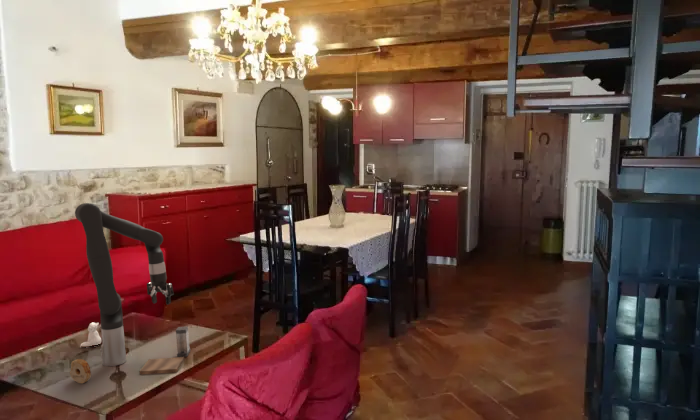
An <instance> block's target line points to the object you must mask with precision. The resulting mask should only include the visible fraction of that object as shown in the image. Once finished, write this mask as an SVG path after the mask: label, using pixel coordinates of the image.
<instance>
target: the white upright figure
mask: <svg viewBox="0 0 700 420" xmlns="http://www.w3.org/2000/svg"><path fill="white" fill-rule="evenodd" d="M99 324H100V323H99V322H95V321H94V322H91V323H89V325H88V327H87V331H88V333H87V334H88V335H87V341H84V342H82V343H80V347H81V346H92V345H98V344H101V343H103V342H102V337H101V336H100V334H99V332H98V330H97V329H98V326H99ZM98 346H99V345H98Z"/></svg>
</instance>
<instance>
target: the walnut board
mask: <svg viewBox="0 0 700 420" xmlns="http://www.w3.org/2000/svg"><path fill="white" fill-rule="evenodd" d="M184 362H185V357H177V356H176V357H164V358H149V359H147V361H146V362H145V363H144V365H143V366H142V368H140V370H139V375H141V376H142V375H151V374H152V375H153V374H169V373H170V374H171V373H177V372H179V369H180V368H181V366H182V365H183V363H184Z"/></svg>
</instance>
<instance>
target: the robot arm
mask: <svg viewBox="0 0 700 420" xmlns="http://www.w3.org/2000/svg"><path fill="white" fill-rule="evenodd" d="M74 215H75V218H76V219H77V220H78V222H80V223H81V224H82V227H83V230H84V234H85V239H86V240H85V242H86V244H85V245H86V248H85V249H86V259H87V262H88V267H89V270H90V273H91V275H92V279H93V282H94V284H95V287H96V293H97V294H96V295H97V302H98V309H99V315H100V329H101V330H100V331H101V339H102V340H101V341H102V342H101V343H102V344H101V346H100V348H101V359H102V366H107V367H115V366H120V365H122V364H124V363H125V362H127V354H126V344H125V342H126V341H125V332H124V319H123V317H124V316H123V305H122V298H121V295H120V294H119V293H118V292H117V290H116V286H115V282H114V271H113V270H114V269H113V263H112V262H113V261H112V257H111V253H110V249H109V245H108V242H107V239H106V236H105V233H104V228H105V229H108V230H110V231H112V232H114V233H117V234H120V235H121V236H125V237H126V238H130V239H132V240H134V241H135V240H137V241H138V242H139V241H140V242H142V243H143V244H144V246H145V250H146V253H147V259H148V260H147V261H148V271H149V280H150V282H148V283H146V290H147V295H148V296H150V297H151V303H152V304H157V302H158V299H157V298H158V297H157V293H162V295H164V296H165V304H166V305H171V303H172V300H171V299H172V298H171V296H174V295H175V293H174V287H173V283H171V282H169V283H167V279H168V276H167V270H166V263H165V257H164V253H163V251H162V249H161V245H162V243H163V242H164V237H163V235H162V234H161V233H160V232H157V230H156V231H155V230H152V229H150V228H145V227H143V226H142V225H140V224H138V223H135V222H132V221H130V220H126V219H123V218H120V217H117V216H114V215H111V214H108V213H106V212H104V211H102V210H101V209H100V207H99V206H98V205H97V204H94V203H89V202H87V203H86V202H85V203H81V204H79V205H78V206H77V207H76V208H75V211H74Z"/></svg>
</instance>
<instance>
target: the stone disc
mask: <svg viewBox="0 0 700 420" xmlns="http://www.w3.org/2000/svg"><path fill="white" fill-rule="evenodd" d="M69 375H70V377H71V378H72V380H73V381H74V382H76V383H78V384H85V383H86V382H88V381H89V380H90V379H91V377H92V371H91V367H90V364H89V362H88V361H86V360H85V359H82V358H77V359H75V360H73V361H71V363H70V371H69Z"/></svg>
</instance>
